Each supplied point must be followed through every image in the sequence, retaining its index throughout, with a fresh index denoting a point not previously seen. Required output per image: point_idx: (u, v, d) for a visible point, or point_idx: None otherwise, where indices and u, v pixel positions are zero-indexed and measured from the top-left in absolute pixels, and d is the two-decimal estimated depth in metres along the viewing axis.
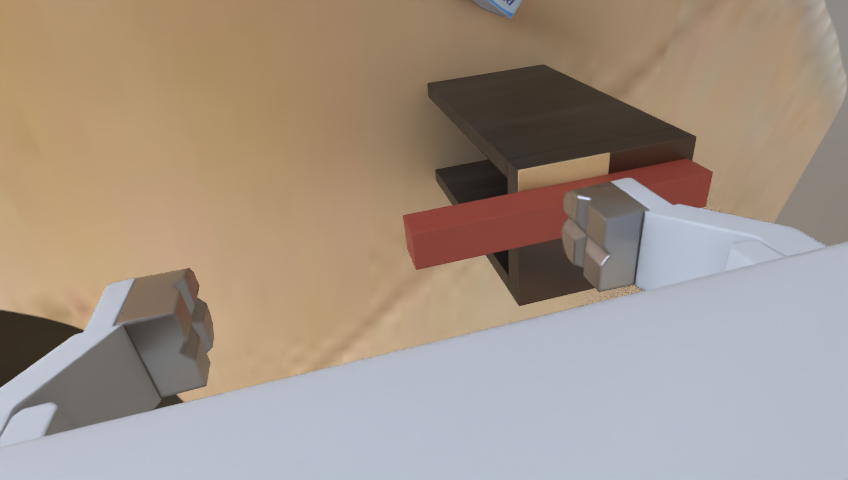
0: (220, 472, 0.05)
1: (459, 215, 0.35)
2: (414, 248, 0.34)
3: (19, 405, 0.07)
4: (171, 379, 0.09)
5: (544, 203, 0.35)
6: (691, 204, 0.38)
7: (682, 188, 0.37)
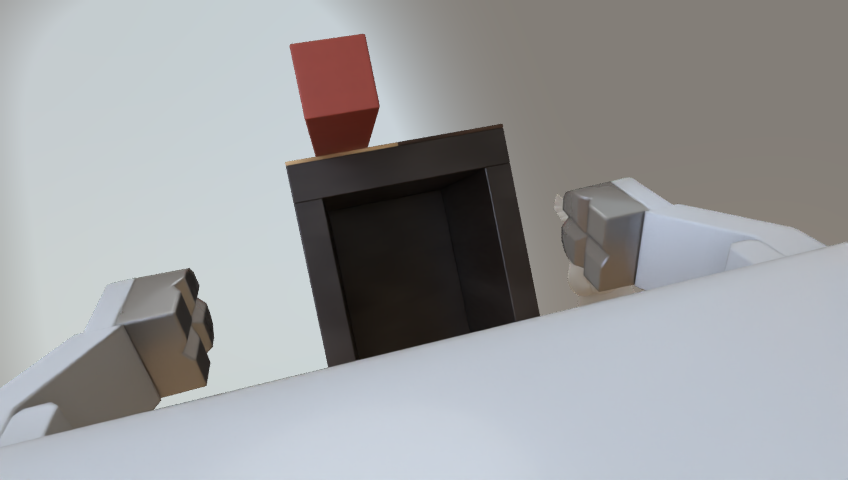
0: (220, 472, 0.05)
1: None
2: (319, 40, 0.19)
3: (19, 405, 0.07)
4: (171, 379, 0.09)
5: None
6: None
7: None
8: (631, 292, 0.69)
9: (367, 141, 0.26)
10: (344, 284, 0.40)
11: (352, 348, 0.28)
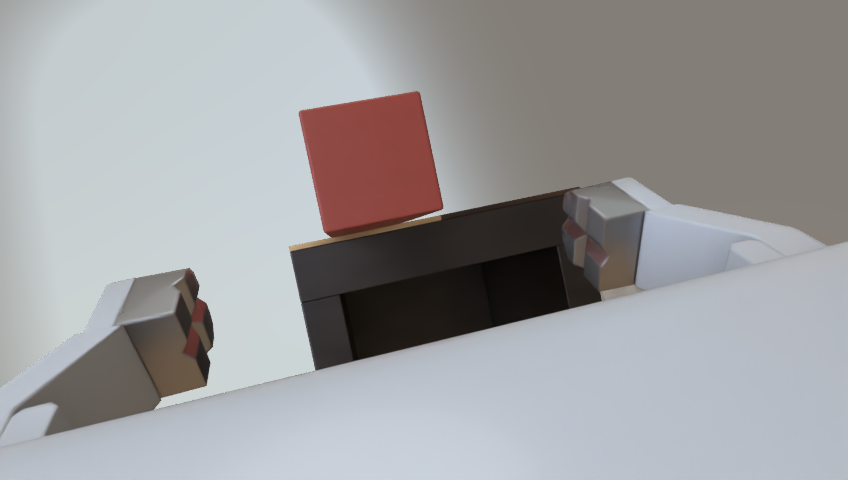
0: (220, 472, 0.05)
1: None
2: (346, 103, 0.12)
3: (19, 405, 0.07)
4: (171, 379, 0.09)
5: None
6: None
7: None
8: None
9: None
10: None
11: None
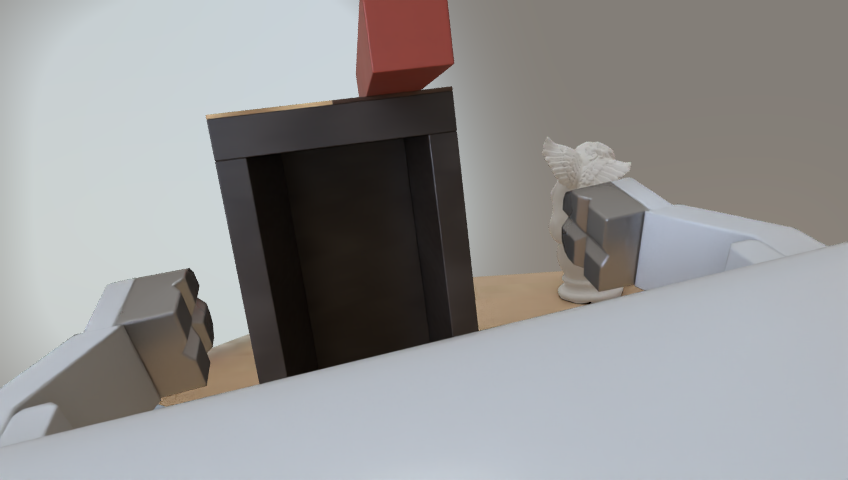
0: (220, 472, 0.05)
1: (362, 40, 0.21)
2: None
3: (19, 405, 0.07)
4: (171, 379, 0.09)
5: (358, 47, 0.26)
6: None
7: None
8: None
9: (424, 86, 0.24)
10: (295, 230, 0.39)
11: (274, 315, 0.27)
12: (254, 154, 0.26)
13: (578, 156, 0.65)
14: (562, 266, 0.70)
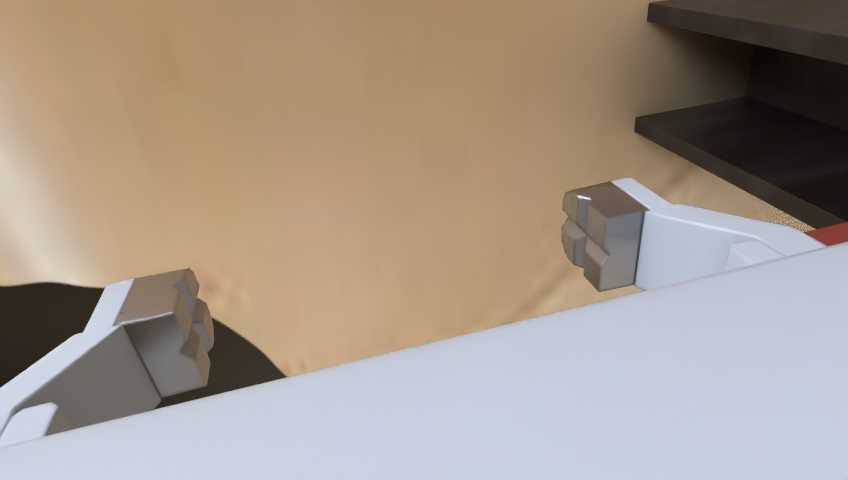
0: (220, 472, 0.05)
1: None
2: None
3: (19, 405, 0.07)
4: (171, 379, 0.09)
5: None
6: None
7: None
8: None
9: None
10: None
11: (793, 52, 0.34)
12: None
13: None
14: None
